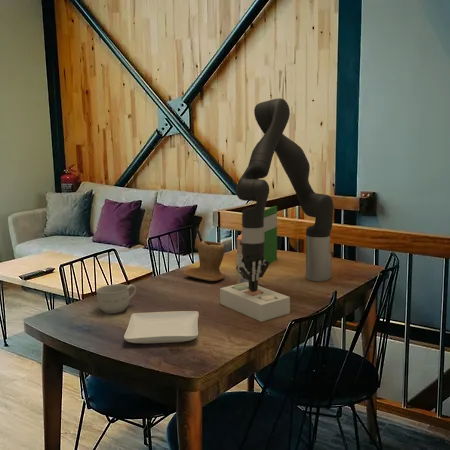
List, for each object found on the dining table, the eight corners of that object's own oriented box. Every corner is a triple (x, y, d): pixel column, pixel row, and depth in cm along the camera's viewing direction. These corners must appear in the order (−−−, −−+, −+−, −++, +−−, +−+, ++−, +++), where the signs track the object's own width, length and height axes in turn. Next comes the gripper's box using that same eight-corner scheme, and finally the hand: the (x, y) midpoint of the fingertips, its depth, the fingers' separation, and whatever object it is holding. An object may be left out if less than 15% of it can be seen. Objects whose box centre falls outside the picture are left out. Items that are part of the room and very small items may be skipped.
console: (247, 296, 204) (247, 281, 203) (289, 313, 187) (289, 297, 186) (220, 303, 197) (219, 288, 196) (261, 321, 180) (261, 305, 179)
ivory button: (268, 300, 189) (268, 293, 188) (277, 304, 185) (277, 296, 185) (258, 303, 186) (258, 295, 186) (266, 307, 183) (266, 299, 182)
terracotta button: (254, 295, 194) (254, 288, 194) (263, 298, 191) (263, 291, 190) (244, 298, 192) (244, 290, 191) (253, 301, 188) (252, 293, 188)
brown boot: (231, 277, 227) (230, 240, 224) (212, 285, 218) (211, 246, 215) (202, 271, 237) (201, 236, 234) (182, 278, 228) (181, 241, 225)
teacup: (102, 318, 185) (101, 294, 184) (93, 308, 195) (92, 286, 193) (143, 310, 192) (142, 287, 190) (133, 301, 201) (131, 279, 200)
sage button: (242, 290, 200) (242, 283, 199) (250, 293, 196) (249, 286, 196) (232, 293, 197) (231, 285, 197) (239, 296, 194) (239, 288, 193)
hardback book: (261, 258, 257) (261, 205, 252) (277, 259, 253) (277, 206, 248) (243, 267, 242) (242, 211, 237) (259, 269, 238) (258, 212, 233)
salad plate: (132, 322, 183) (131, 311, 182) (198, 319, 184) (198, 309, 183) (123, 349, 162) (122, 337, 161) (198, 346, 163) (198, 335, 162)
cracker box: (253, 296, 204) (252, 238, 200) (236, 295, 206) (235, 238, 202) (258, 284, 218) (258, 230, 214) (243, 283, 219) (242, 230, 215)
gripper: (261, 235, 194) (261, 284, 198) (229, 241, 187) (230, 292, 190) (275, 239, 188) (275, 289, 192) (244, 245, 181) (244, 297, 184)
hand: (253, 290), depth 191 cm, fingers closed
